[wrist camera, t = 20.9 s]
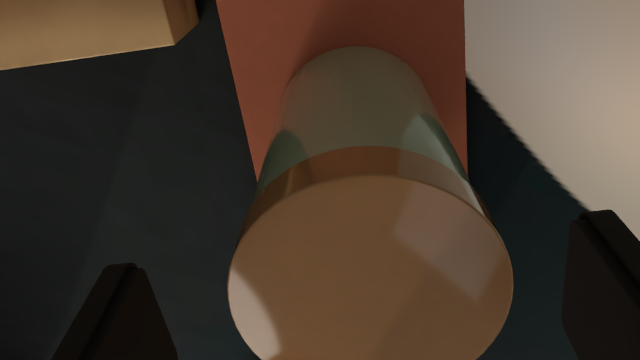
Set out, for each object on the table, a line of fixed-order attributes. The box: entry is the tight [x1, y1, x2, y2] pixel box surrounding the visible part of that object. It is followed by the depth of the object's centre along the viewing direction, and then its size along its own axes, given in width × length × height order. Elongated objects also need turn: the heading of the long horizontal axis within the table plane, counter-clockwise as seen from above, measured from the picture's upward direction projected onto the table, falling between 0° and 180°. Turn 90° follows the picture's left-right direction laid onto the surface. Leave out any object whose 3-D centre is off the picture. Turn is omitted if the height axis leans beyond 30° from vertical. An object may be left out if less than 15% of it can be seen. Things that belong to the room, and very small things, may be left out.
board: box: [216, 0, 468, 182], centre depth 24 cm, size 20×10×1 cm, turn 8°
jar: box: [227, 46, 513, 360], centre depth 19 cm, size 14×7×13 cm
